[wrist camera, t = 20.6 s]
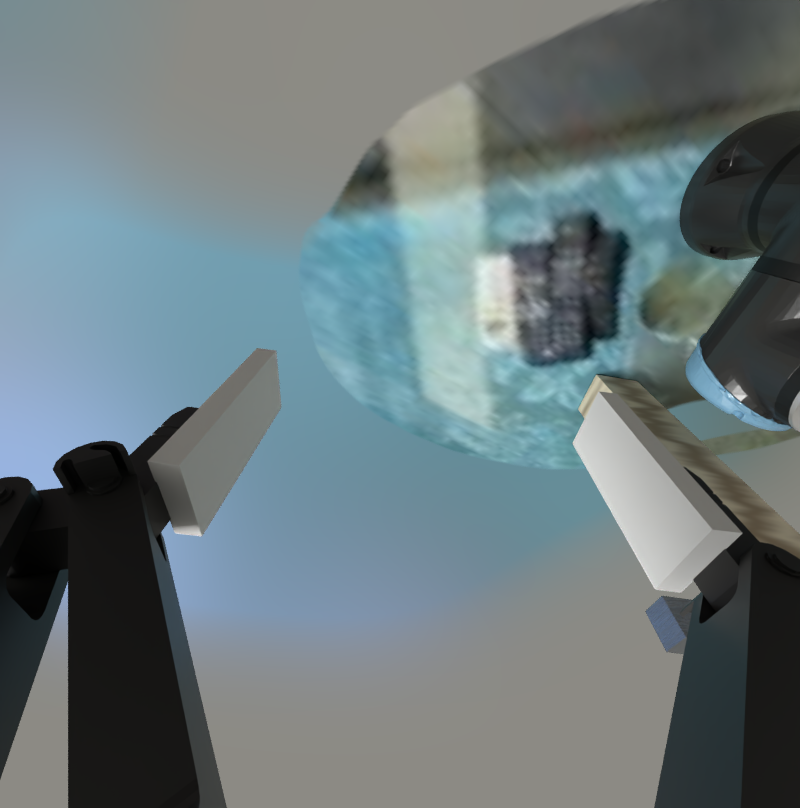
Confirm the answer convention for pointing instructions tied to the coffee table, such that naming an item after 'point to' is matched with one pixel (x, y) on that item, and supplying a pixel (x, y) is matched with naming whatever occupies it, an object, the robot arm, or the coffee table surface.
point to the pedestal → (700, 462)
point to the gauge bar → (670, 622)
